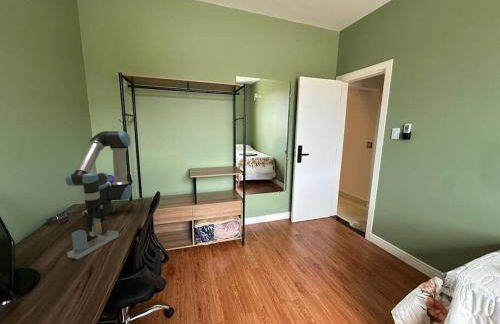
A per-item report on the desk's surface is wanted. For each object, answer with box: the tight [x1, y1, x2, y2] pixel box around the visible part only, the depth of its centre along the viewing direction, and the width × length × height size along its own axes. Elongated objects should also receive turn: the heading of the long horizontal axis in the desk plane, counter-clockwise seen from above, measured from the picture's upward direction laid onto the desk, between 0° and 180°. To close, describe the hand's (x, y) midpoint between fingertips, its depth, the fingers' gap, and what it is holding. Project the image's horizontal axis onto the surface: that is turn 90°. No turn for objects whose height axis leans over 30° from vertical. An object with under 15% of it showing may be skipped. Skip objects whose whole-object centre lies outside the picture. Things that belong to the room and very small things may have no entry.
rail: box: [66, 229, 119, 260], centre depth 116 cm, size 24×7×12 cm, turn 166°
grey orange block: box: [92, 217, 103, 238], centre depth 128 cm, size 5×4×10 cm
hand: (96, 234), depth 129 cm, fingers closed on grey orange block, 4 cm apart
